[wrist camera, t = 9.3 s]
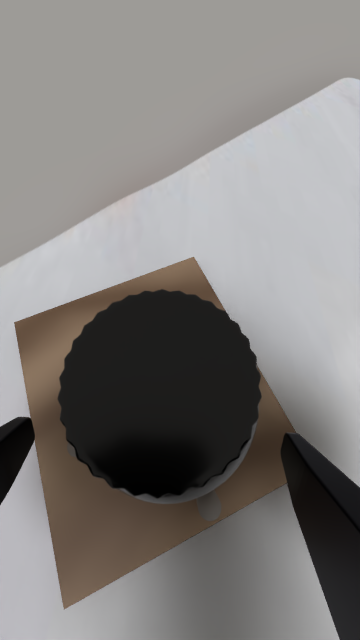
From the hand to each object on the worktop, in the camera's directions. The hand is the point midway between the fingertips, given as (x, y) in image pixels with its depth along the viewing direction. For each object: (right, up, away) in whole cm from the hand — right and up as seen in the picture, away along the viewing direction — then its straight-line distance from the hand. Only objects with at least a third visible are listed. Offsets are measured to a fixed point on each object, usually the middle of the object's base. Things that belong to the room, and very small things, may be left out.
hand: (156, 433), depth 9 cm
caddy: (-2, -1, +10) cm, 10 cm away
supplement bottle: (0, -2, +8) cm, 8 cm away
